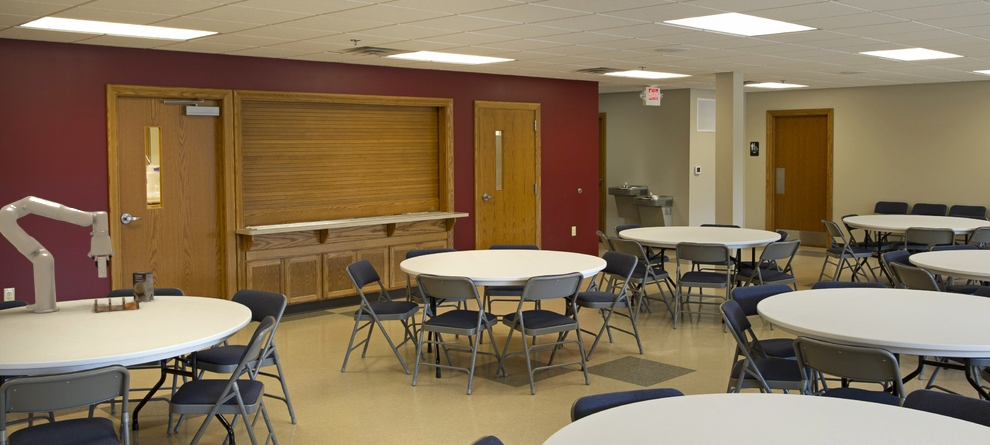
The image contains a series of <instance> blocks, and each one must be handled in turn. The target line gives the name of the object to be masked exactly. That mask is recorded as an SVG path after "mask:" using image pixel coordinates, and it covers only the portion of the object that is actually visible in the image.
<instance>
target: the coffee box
mask: <svg viewBox="0 0 990 445" xmlns="http://www.w3.org/2000/svg"><path fill="white" fill-rule="evenodd" d="M132 291H133V292H132V293H133V302H136V296H138V298H139V301H140V302H141V301H142V302H144V303H148V302H151V301H154V300H155V298H154V297H155V296H154V295H155V293H154V292H155V291H154V272H153V271H135V272H132ZM140 302H139V303H140ZM142 302H141V303H142Z"/></svg>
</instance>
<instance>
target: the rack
mask: <svg viewBox="0 0 990 445" xmlns="http://www.w3.org/2000/svg"><path fill="white" fill-rule="evenodd" d="M121 300H122V302H121V303H122V304H116V305H115V304H114V305H112V298H108V305H102V306H99V305H98V299H96V298H95V299H94V313H95V314H97V313H109V312H112V313H113V312H121V311H122V312H123V311H133V310H136V311H137V310H140V302H139V298H138V296H136V301H133V302H132V301H131V302H126V298H125V296H123V297H121Z"/></svg>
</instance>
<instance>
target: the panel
mask: <svg viewBox="0 0 990 445" xmlns="http://www.w3.org/2000/svg"><path fill="white" fill-rule="evenodd" d="M97 259H98V268H97V271H98V275H97V276H98V278H107V277H108V274H107V272H108V271H107V268H106V259H107V258H106V256H98V257H97Z"/></svg>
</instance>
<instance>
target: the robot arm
mask: <svg viewBox="0 0 990 445" xmlns="http://www.w3.org/2000/svg"><path fill="white" fill-rule="evenodd" d="M29 214H34V215H37V216H42V217H46V218H49V219H53V220H57V221H63V222H66V223H69V224H70V223H71V224H74V225H79V226H81V227H90V226H91V225H92V232H89V235H90V236H91V239H90V241H91V242H90V251H89V252H88V254H87V257H89V258H91V259H92V260H94V264H95V267H96V269H98V257H99V256H105V257H106V269H108V267H110V260H111V259H112V258H113V257H114V256H116V252H115V251H114V250H113V249H112V240H111V236H110V235H109V221H108V220H109V217H108V212H107V211H104V210H103V211H83V210H78V209H76V208H72V207H69V206H66V205H64V204H62V203H58V202H55V201H51V200H47V199H44V198H40V197H37V196H33V195H30V196H26V197H24V198H22V199H19V200H16V201H14V202H11V203H9V204H7V205H4V206H3V207H2V208H1V209H0V234H2V235H3V237H4V238H6V240H8V242H9V243H11V245H13V246H14V247H15V248H16V249H17V251H18V252H19V253H21V254H22V255H23V256H25V257H26V258H27V260H29V261H30V262H31V263H32V266H33V279H34V280H33V282H34V295H35V296H34V297H35V298H34V299H35V303H33V304H26V305H25V306H26V307H25V308H26V309H27V310H28V309H29V310H30V309H32V313H33V314H34V313H36V314H43V313H44V314H45V313H52V312H57V311H60V307H59V306H57V296H56V295H57V294H56V279H55V258H54V256H53V255H52V253H51V252H50V251H48V249H46V248H45V247H44V246H43V245H42V244H41V243H40V242H39V241H38V240H36V239H35V238H34V237H33V236H30V235H29V234H28V233H27V232H26V231H25V230H24V229H23V228H22V227H20V225H19V224H18V222H17V219H20V218H23V217H25V216H27V215H29Z"/></svg>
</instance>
